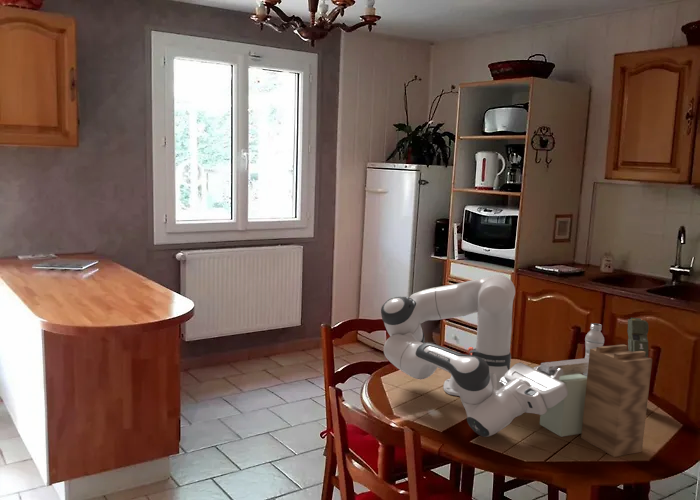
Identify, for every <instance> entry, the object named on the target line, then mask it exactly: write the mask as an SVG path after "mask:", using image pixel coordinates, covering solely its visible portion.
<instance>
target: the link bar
mask: <svg viewBox="0 0 700 500" xmlns="http://www.w3.org/2000/svg"><path fill="white" fill-rule="evenodd" d="M588 364H589V358H585V357H584V358H577V359H565V360H564V359H563V360H558V361H557V360H556V361H545V362H541V363H540V365H541V368H540V372H542V373H544V374H546V375H548V376H551V375H554V374H555V371H554V370H555V369H557V368H561V369H563V372H564V373H563V375H570V374H579V373H580V374H583V373H588ZM561 376H562V375H561Z"/></svg>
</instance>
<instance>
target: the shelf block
mask: <svg viewBox="0 0 700 500" xmlns="http://www.w3.org/2000/svg"><path fill="white" fill-rule="evenodd" d="M559 381H561V382H563V383H565V385H566V387H567V390H568V395H567V397H566V398H564V399H563V400H562V401H561V402H559V403H558V404H557V405H555V406H554V407H551V408H546V409H547V412H546V413H545V414H543V415H539V426H542V427H544V429H547V430H549V431H550V432H552V433H553V434H555V435H557V436H558V437H569V436H573V435H574V436H575V435H579V434H580V435H582V425H583V415H584V405H585V394H586V384H587V377H586V376H584V375H583V373H579V374H570V375H562V376H560V378H559Z"/></svg>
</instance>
